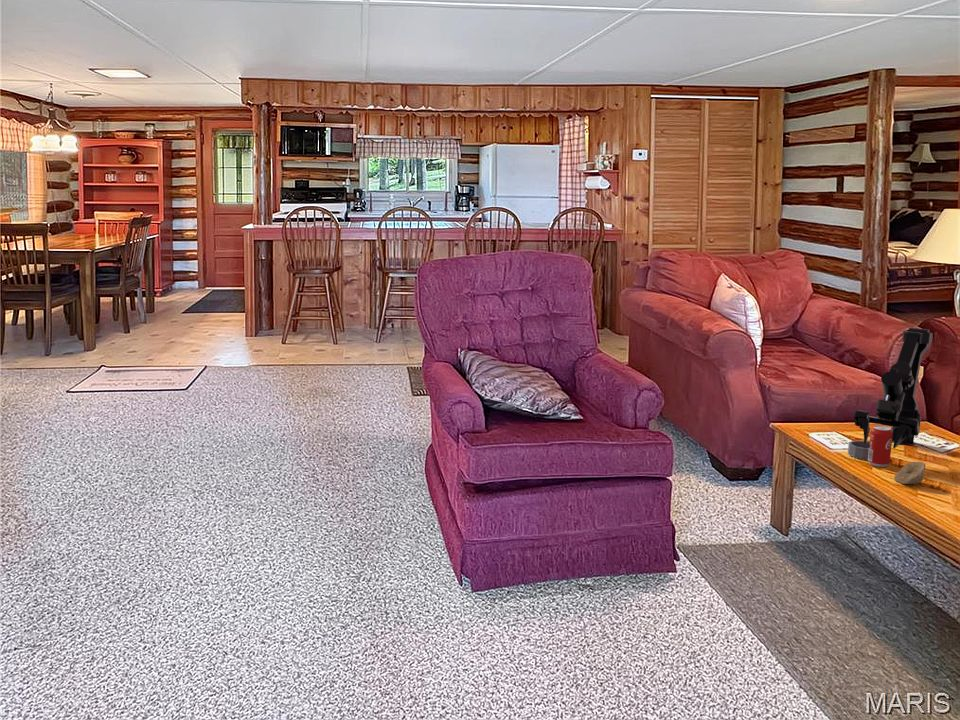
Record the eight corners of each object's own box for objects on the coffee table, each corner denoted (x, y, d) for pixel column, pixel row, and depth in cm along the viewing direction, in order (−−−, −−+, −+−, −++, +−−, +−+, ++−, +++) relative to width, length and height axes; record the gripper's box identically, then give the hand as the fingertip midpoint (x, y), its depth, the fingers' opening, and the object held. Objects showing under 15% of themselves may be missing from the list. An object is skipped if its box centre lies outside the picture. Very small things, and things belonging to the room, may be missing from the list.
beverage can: (891, 468, 277) (895, 431, 275) (869, 466, 278) (873, 429, 276) (886, 462, 283) (890, 425, 281) (865, 461, 284) (869, 424, 282)
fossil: (908, 458, 269) (930, 461, 259) (917, 469, 269) (939, 472, 259) (888, 479, 267) (909, 482, 258) (897, 489, 268) (918, 494, 258)
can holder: (875, 453, 293) (876, 441, 293) (882, 461, 284) (883, 449, 284) (845, 451, 295) (846, 439, 294) (851, 459, 286) (852, 447, 285)
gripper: (857, 385, 285) (844, 425, 278) (922, 394, 274) (909, 436, 267) (861, 404, 293) (849, 444, 286) (924, 414, 282) (912, 456, 275)
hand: (879, 445), depth 278 cm, fingers open, 8 cm apart
